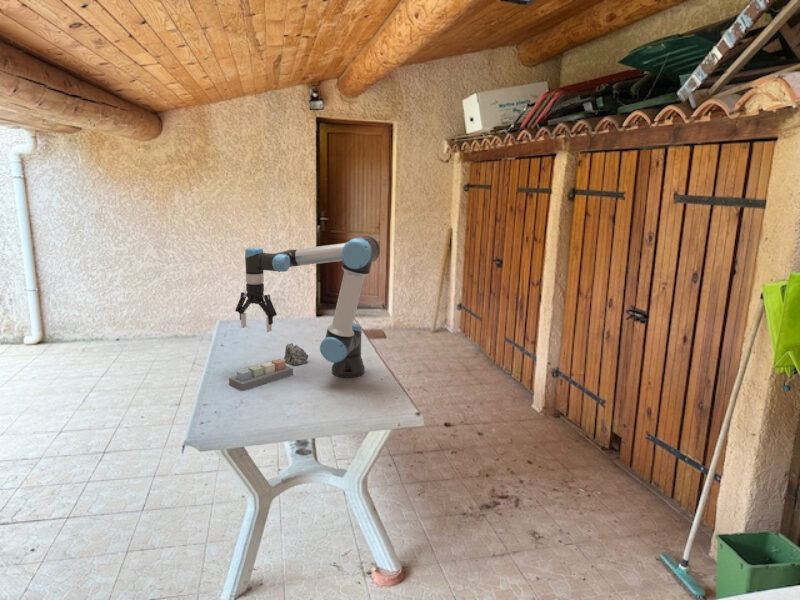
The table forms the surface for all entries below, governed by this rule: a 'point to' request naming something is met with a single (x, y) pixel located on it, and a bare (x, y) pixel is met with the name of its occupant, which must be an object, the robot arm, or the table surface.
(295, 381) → the table surface
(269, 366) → the key cream
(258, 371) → the key sage
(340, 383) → the table surface
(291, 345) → the rock
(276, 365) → the key terracotta
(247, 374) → the key slate
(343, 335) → the robot arm
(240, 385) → the grey socket tray
